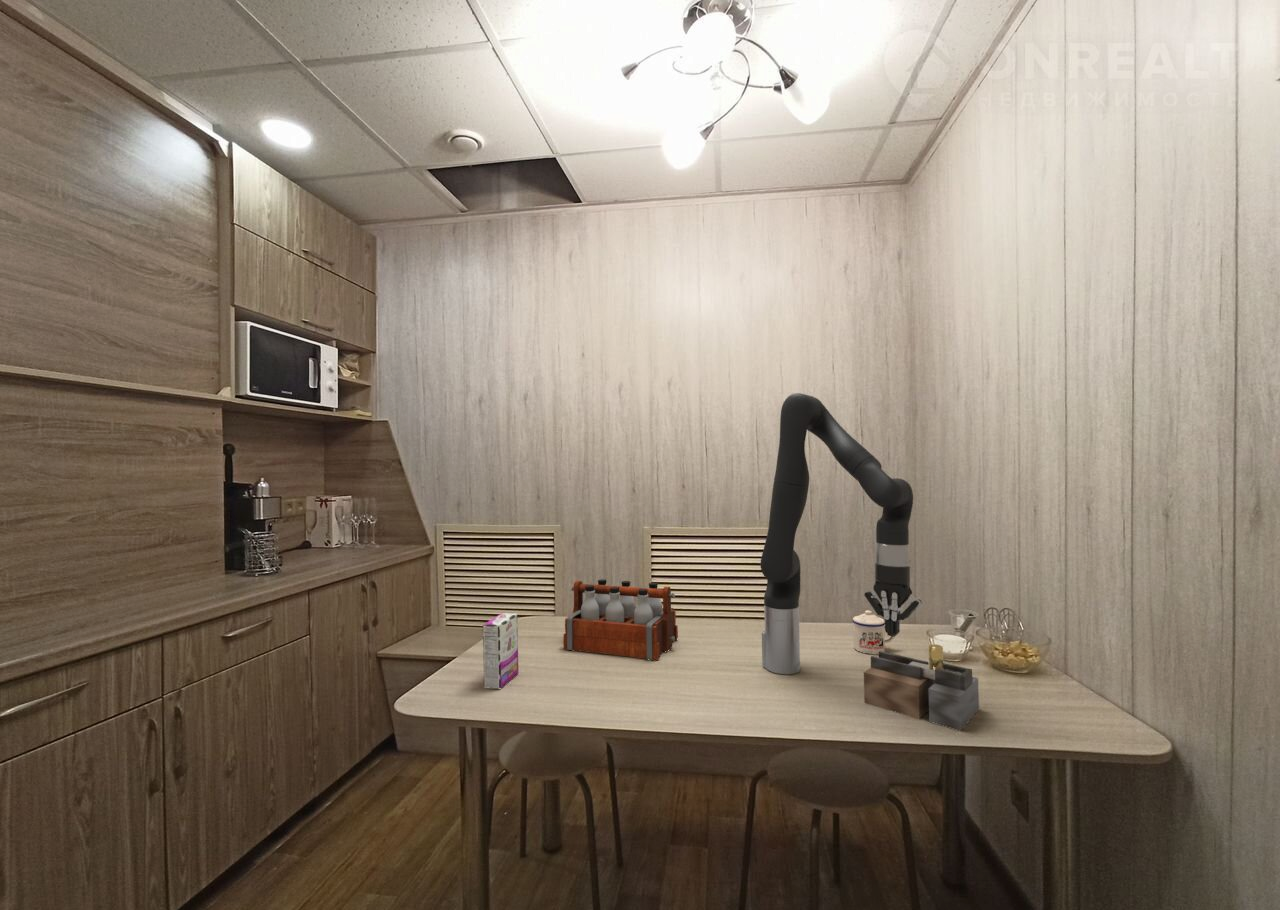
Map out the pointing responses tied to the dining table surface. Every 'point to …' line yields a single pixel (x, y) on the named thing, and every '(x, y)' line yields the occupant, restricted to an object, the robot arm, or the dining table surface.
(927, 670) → the gold and grey piece
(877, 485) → the robot arm
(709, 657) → the dining table surface
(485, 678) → the candy bar box
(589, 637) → the milk bottle holder
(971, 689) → the pair of card holders
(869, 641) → the teacup with lid
